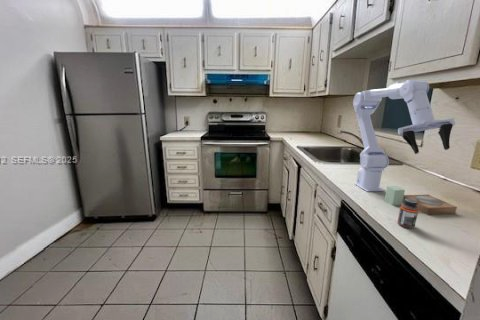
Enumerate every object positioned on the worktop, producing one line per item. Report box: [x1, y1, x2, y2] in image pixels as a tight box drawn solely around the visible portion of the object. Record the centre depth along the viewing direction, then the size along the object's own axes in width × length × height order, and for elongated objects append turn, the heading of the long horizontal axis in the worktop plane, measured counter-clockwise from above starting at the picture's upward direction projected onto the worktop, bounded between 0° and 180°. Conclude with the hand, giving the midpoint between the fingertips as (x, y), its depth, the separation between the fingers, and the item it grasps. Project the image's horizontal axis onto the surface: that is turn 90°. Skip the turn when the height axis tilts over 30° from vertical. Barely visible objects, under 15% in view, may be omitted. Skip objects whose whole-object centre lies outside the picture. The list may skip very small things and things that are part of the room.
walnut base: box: [402, 194, 458, 216], centre depth 84 cm, size 11×11×3 cm
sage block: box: [384, 185, 406, 206], centre depth 87 cm, size 4×4×6 cm
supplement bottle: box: [397, 199, 419, 229], centre depth 70 cm, size 4×4×8 cm
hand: (431, 150), depth 72 cm, fingers open, 7 cm apart
